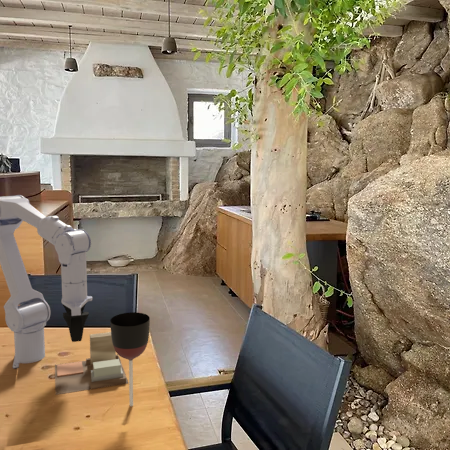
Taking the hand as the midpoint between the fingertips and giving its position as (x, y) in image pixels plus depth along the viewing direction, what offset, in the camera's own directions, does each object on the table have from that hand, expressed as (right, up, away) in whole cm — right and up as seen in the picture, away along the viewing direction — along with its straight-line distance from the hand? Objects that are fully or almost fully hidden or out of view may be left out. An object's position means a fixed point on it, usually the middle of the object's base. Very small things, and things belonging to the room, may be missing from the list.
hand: (76, 335), depth 109 cm
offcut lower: (+8, -10, -2) cm, 13 cm away
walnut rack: (+3, -11, +1) cm, 11 cm away
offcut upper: (+8, -8, -3) cm, 12 cm away
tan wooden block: (+5, -9, +5) cm, 12 cm away
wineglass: (+16, -13, -13) cm, 25 cm away
